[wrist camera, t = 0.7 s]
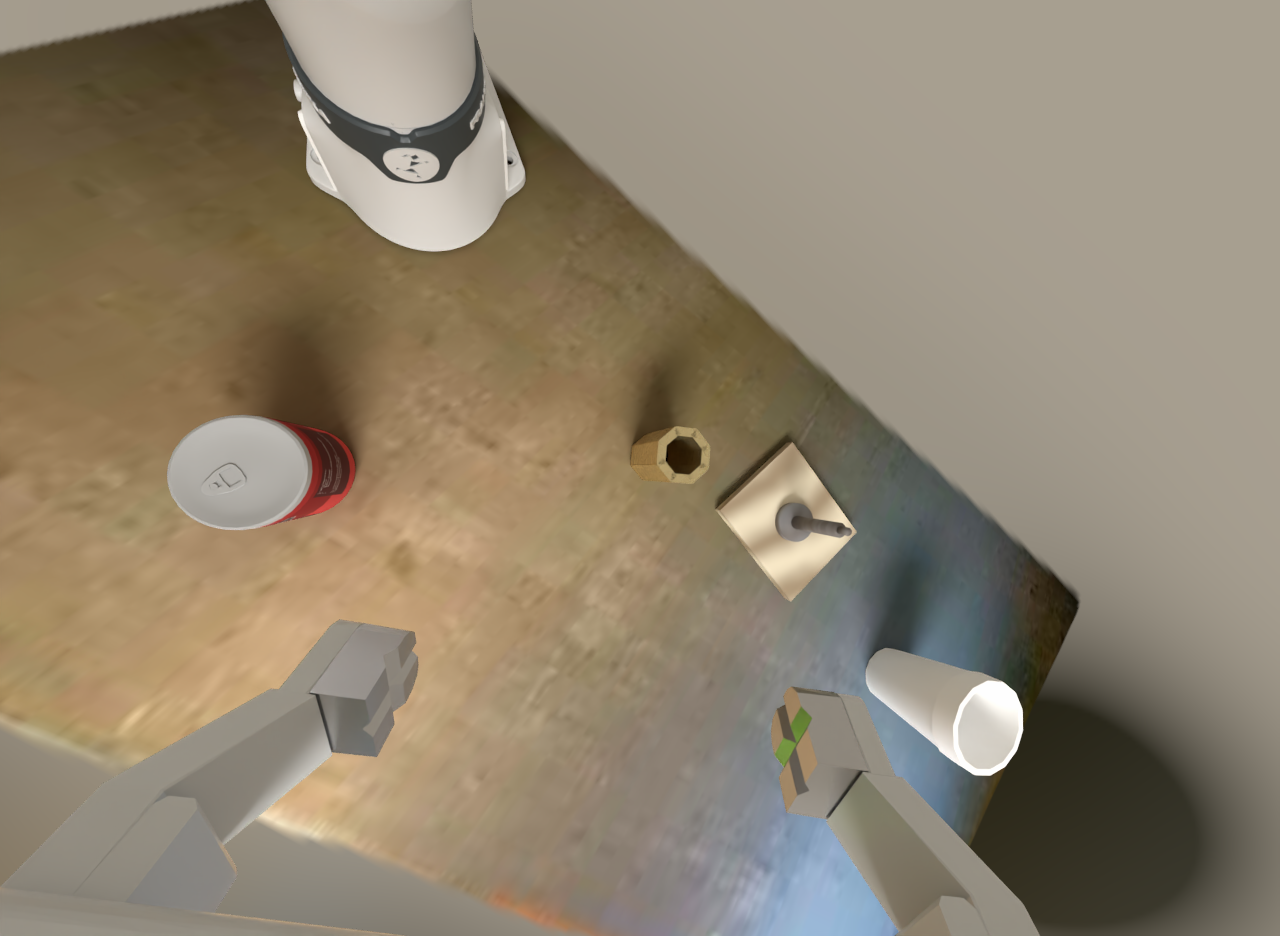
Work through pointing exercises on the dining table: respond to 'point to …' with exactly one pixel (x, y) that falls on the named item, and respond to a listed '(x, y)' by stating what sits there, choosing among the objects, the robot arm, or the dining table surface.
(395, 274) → the dining table surface
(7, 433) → the dining table surface
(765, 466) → the shaft stand
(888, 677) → the foam cup
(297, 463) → the canned food
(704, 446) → the collar
